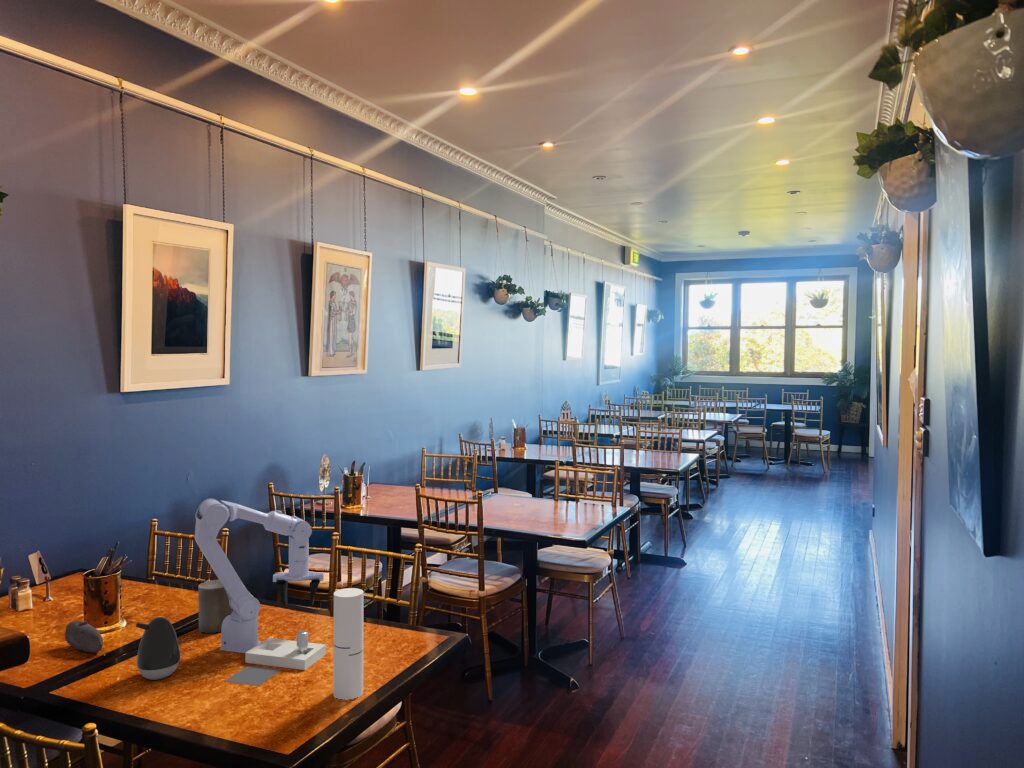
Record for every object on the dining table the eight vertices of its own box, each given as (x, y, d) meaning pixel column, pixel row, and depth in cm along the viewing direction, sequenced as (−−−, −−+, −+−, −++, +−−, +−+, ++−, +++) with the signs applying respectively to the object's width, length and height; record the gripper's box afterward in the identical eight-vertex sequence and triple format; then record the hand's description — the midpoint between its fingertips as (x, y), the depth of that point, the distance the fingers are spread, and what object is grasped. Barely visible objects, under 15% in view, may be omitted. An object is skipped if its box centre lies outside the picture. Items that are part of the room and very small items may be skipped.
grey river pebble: (110, 652, 199) (110, 628, 199) (90, 659, 194) (90, 633, 194) (82, 641, 207) (82, 617, 207) (63, 647, 202) (63, 622, 202)
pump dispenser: (137, 671, 186) (137, 613, 186) (181, 664, 191) (181, 608, 190) (133, 687, 177) (133, 626, 177) (179, 680, 181) (179, 621, 181)
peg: (294, 663, 192) (294, 633, 192) (300, 658, 195) (300, 630, 195) (304, 664, 192) (304, 635, 191) (310, 660, 194) (310, 631, 194)
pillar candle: (239, 626, 219) (239, 578, 219) (210, 636, 211) (210, 585, 211) (219, 620, 224) (219, 573, 224) (191, 630, 216) (191, 580, 216)
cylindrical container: (335, 687, 178) (336, 588, 177) (364, 686, 178) (365, 587, 178) (331, 700, 171) (331, 597, 170) (361, 699, 171) (361, 596, 171)
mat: (224, 682, 180) (224, 681, 180) (248, 666, 190) (248, 665, 190) (258, 687, 178) (258, 685, 178) (281, 671, 187) (281, 669, 187)
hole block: (245, 663, 192) (245, 652, 192) (269, 648, 202) (269, 637, 202) (304, 671, 187) (305, 660, 187) (326, 655, 198) (326, 644, 198)
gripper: (270, 563, 207) (270, 609, 207) (321, 562, 208) (321, 608, 208) (276, 557, 214) (275, 602, 214) (325, 556, 215) (325, 600, 215)
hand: (298, 604), depth 212 cm, fingers open, 7 cm apart
